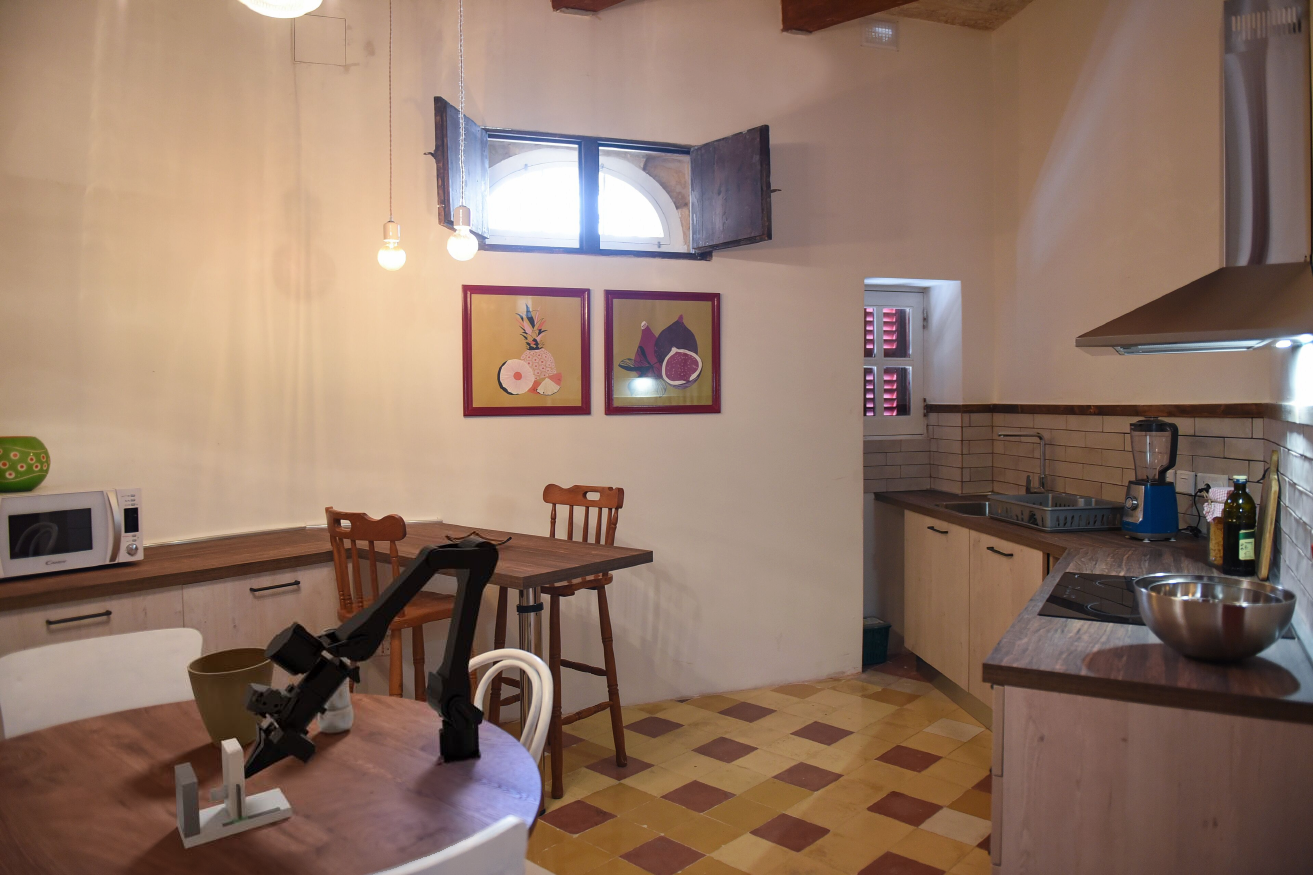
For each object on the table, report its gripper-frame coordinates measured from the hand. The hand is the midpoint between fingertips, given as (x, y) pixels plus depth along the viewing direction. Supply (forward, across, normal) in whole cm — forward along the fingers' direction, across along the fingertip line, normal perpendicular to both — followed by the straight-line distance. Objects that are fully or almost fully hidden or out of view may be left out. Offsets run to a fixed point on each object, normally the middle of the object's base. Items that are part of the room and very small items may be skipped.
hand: (242, 776), depth 127 cm
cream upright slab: (+5, +1, +2) cm, 5 cm away
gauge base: (+5, 0, +4) cm, 7 cm away
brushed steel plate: (+9, 0, -2) cm, 9 cm away
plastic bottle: (-10, -26, +20) cm, 34 cm away
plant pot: (+2, -33, +8) cm, 34 cm away
